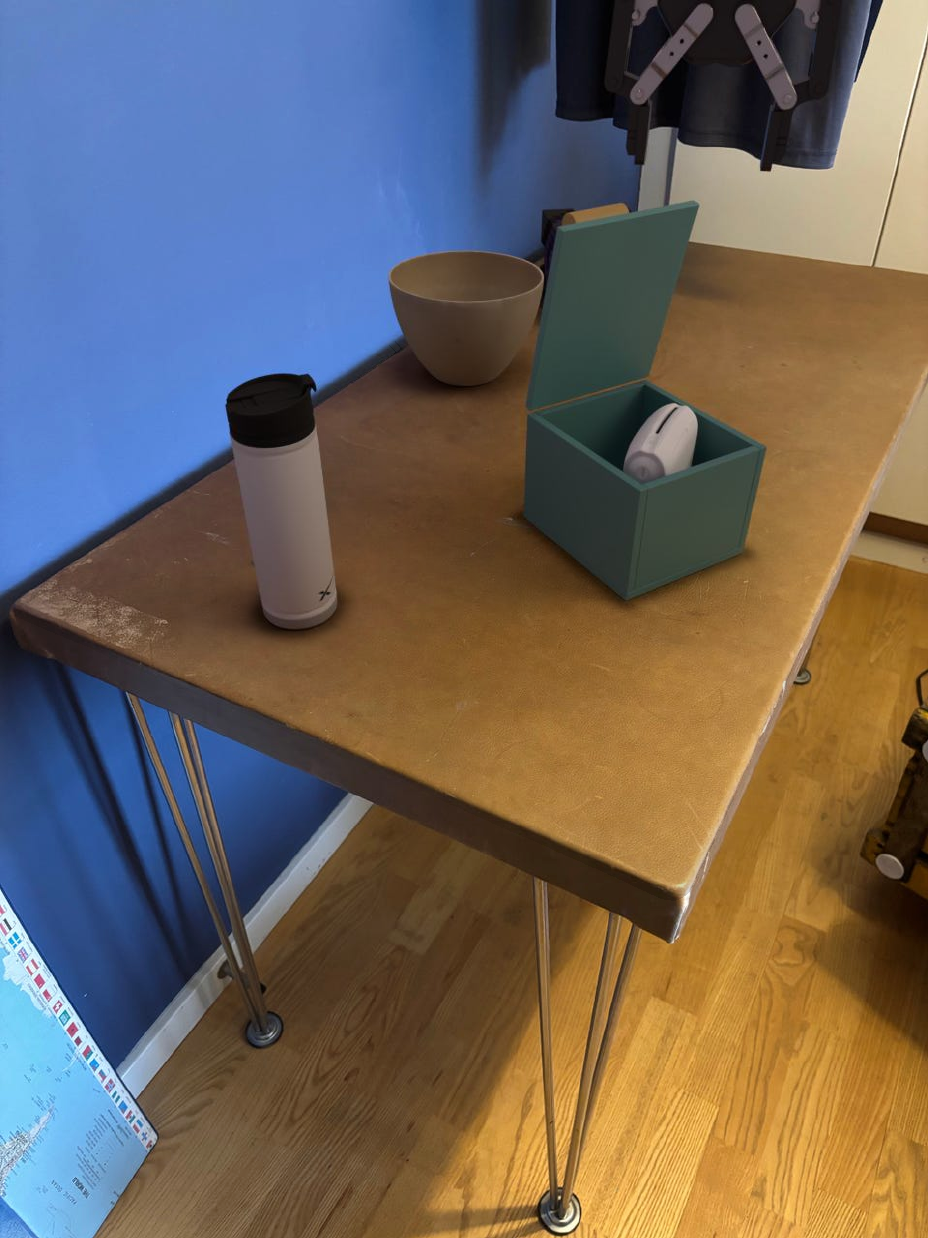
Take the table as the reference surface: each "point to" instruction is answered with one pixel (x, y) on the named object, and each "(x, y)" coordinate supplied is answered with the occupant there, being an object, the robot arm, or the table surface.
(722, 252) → the table surface
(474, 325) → the beige bowl
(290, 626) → the travel mug
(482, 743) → the table surface
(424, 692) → the table surface
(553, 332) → the lid
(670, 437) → the photo printer
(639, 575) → the chest
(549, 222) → the energy cube
